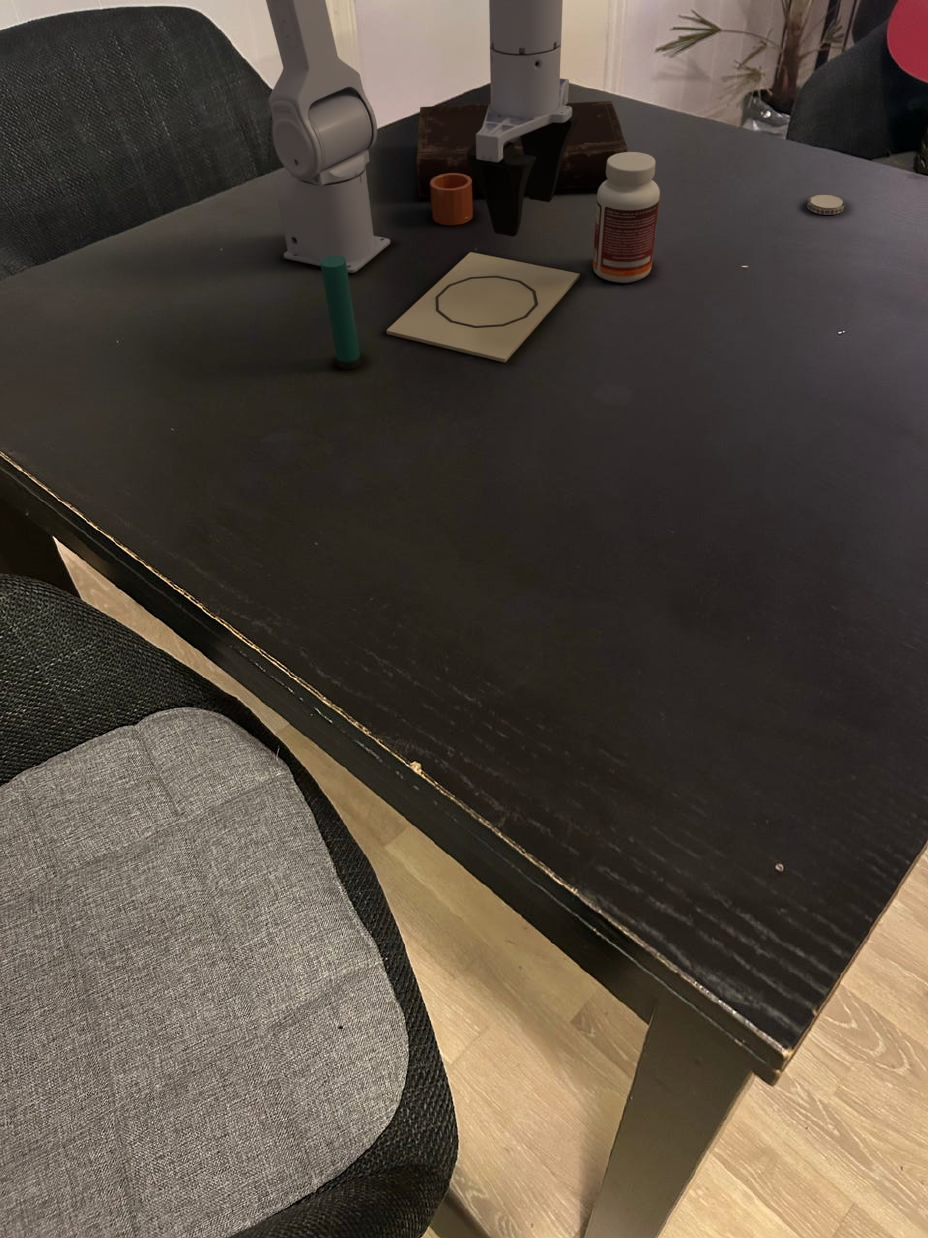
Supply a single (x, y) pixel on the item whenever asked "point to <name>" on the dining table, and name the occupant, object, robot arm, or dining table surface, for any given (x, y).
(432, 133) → the diary
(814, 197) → the beige bottle cap
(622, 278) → the pill bottle
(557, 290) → the sketch pad
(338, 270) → the marker
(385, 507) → the dining table surface
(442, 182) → the pen cup
